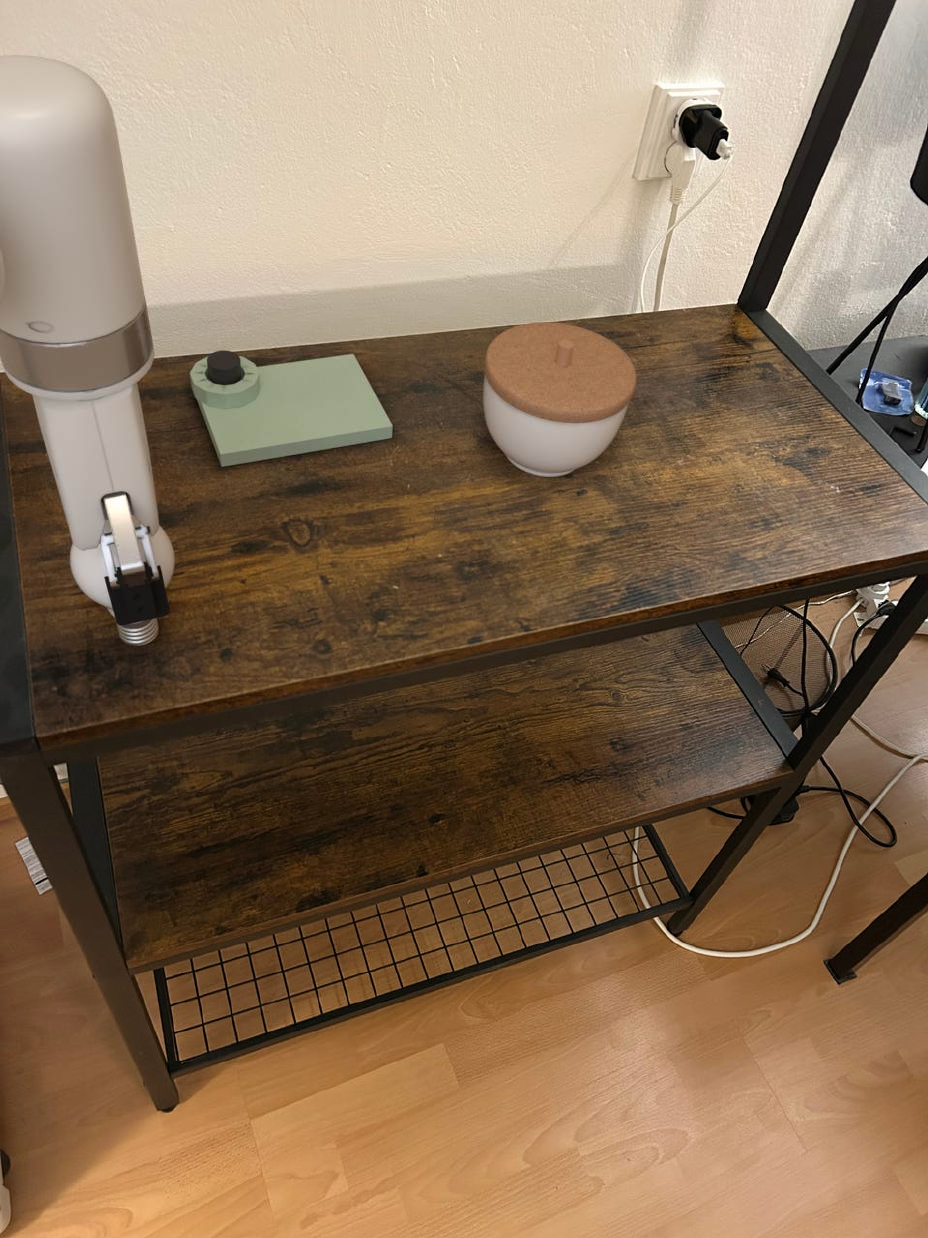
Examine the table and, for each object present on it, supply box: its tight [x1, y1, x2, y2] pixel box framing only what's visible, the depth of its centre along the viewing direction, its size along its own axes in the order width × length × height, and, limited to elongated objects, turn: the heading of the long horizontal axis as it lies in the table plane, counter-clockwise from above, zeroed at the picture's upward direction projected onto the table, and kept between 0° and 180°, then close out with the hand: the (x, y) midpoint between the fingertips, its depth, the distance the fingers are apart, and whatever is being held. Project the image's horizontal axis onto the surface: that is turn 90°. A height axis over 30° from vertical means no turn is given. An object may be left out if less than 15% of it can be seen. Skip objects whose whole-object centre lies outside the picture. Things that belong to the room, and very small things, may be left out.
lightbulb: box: [69, 515, 176, 647], centre depth 64 cm, size 6×6×11 cm
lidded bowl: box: [482, 321, 638, 478], centre depth 82 cm, size 13×13×11 cm
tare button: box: [207, 349, 242, 385], centre depth 84 cm, size 3×3×2 cm
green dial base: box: [189, 353, 394, 468], centre depth 85 cm, size 15×11×3 cm
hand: (129, 562), depth 63 cm, fingers open, 9 cm apart
